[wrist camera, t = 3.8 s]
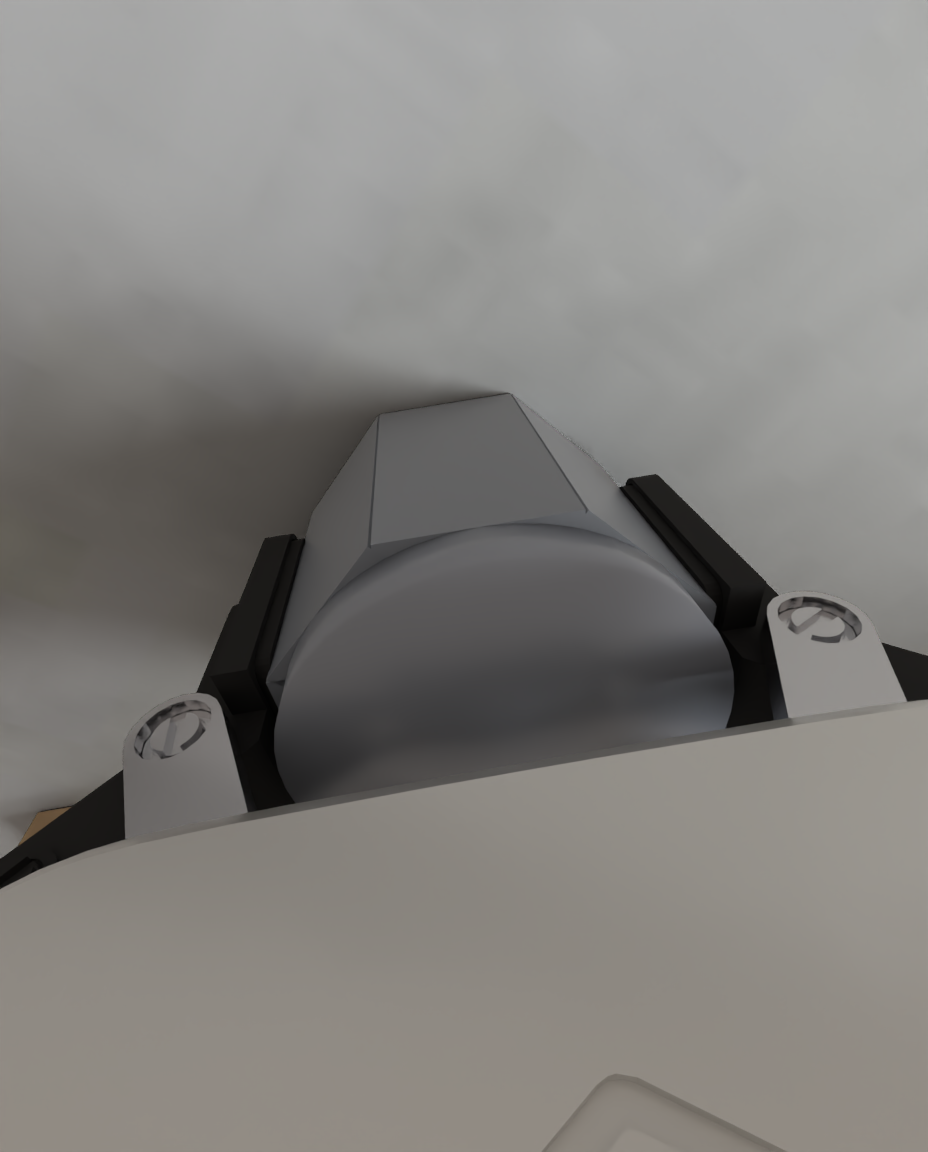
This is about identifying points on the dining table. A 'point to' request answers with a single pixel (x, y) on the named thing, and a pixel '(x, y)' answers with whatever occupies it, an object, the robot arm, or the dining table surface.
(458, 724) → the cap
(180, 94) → the dining table surface
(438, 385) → the dining table surface
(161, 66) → the dining table surface
